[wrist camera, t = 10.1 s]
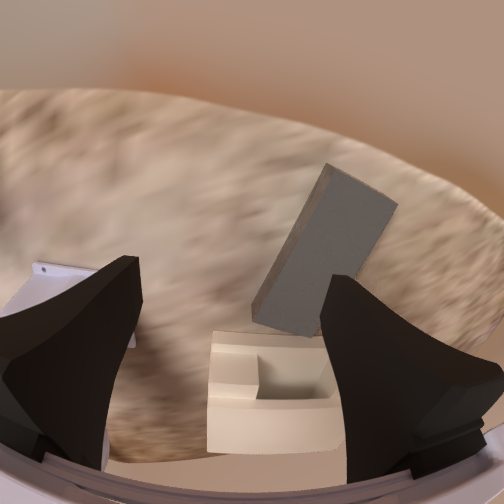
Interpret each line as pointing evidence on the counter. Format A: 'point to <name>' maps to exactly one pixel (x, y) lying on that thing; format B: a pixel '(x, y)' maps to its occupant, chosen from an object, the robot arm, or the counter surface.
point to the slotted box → (272, 395)
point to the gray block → (321, 250)
